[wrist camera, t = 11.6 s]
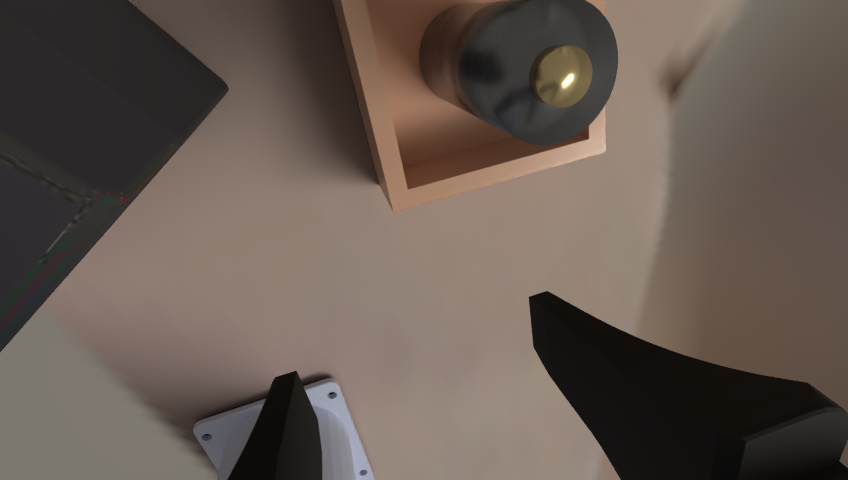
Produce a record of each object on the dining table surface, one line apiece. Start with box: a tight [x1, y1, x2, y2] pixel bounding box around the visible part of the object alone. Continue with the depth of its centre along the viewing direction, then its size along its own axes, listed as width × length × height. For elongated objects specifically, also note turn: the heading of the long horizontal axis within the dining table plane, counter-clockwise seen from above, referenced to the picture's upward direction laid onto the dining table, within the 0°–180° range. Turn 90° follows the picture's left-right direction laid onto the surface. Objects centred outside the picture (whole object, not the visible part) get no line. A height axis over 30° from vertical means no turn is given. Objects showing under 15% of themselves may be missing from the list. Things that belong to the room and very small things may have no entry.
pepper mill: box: [419, 0, 618, 145], centre depth 16 cm, size 4×4×9 cm
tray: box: [332, 0, 606, 213], centre depth 19 cm, size 10×10×4 cm
